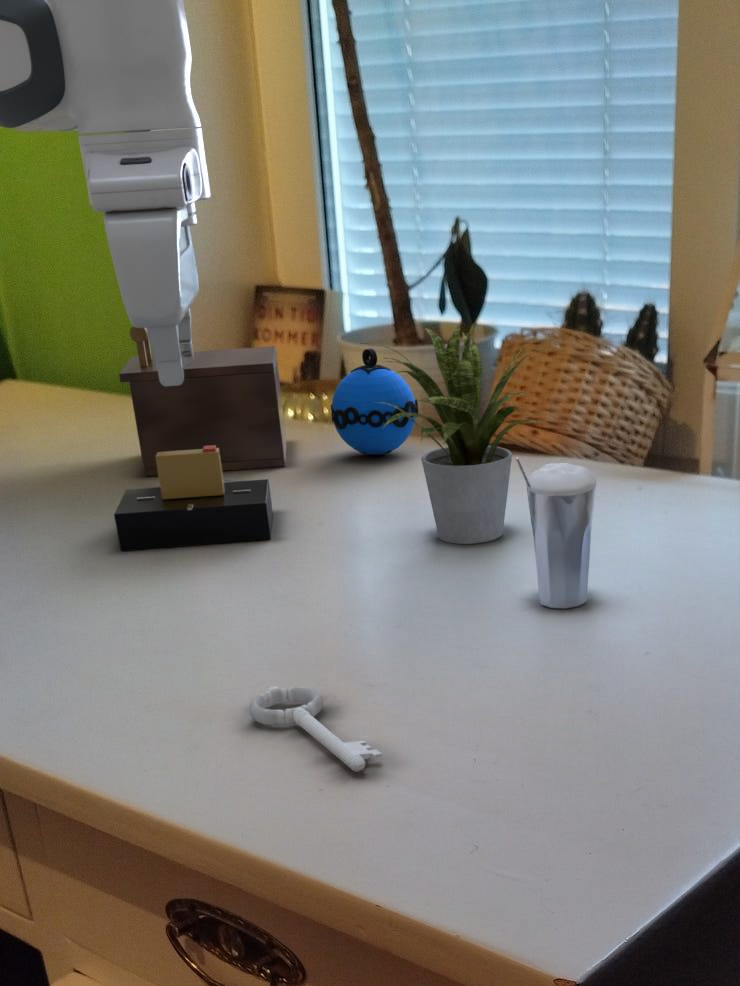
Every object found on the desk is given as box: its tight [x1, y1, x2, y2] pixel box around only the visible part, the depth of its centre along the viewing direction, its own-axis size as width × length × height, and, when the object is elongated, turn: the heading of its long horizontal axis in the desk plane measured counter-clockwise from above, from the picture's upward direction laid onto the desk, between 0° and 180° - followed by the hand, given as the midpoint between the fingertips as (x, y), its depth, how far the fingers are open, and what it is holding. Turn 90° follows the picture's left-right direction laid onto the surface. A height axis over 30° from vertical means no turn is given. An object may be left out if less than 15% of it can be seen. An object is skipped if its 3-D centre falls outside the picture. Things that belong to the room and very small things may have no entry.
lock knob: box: [156, 445, 225, 500], centre depth 107 cm, size 5×2×4 cm, turn 96°
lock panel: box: [113, 478, 274, 552], centre depth 109 cm, size 12×9×3 cm
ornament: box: [330, 347, 419, 457], centre depth 129 cm, size 9×9×10 cm
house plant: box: [360, 318, 546, 545], centre depth 102 cm, size 14×14×16 cm
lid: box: [118, 325, 277, 383], centre depth 127 cm, size 14×11×5 cm
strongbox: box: [128, 355, 288, 477], centre depth 131 cm, size 14×11×9 cm
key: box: [249, 685, 383, 773], centre depth 72 cm, size 12×1×4 cm
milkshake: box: [515, 457, 597, 610], centre depth 87 cm, size 4×5×10 cm
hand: (178, 374), depth 103 cm, fingers open, 8 cm apart
